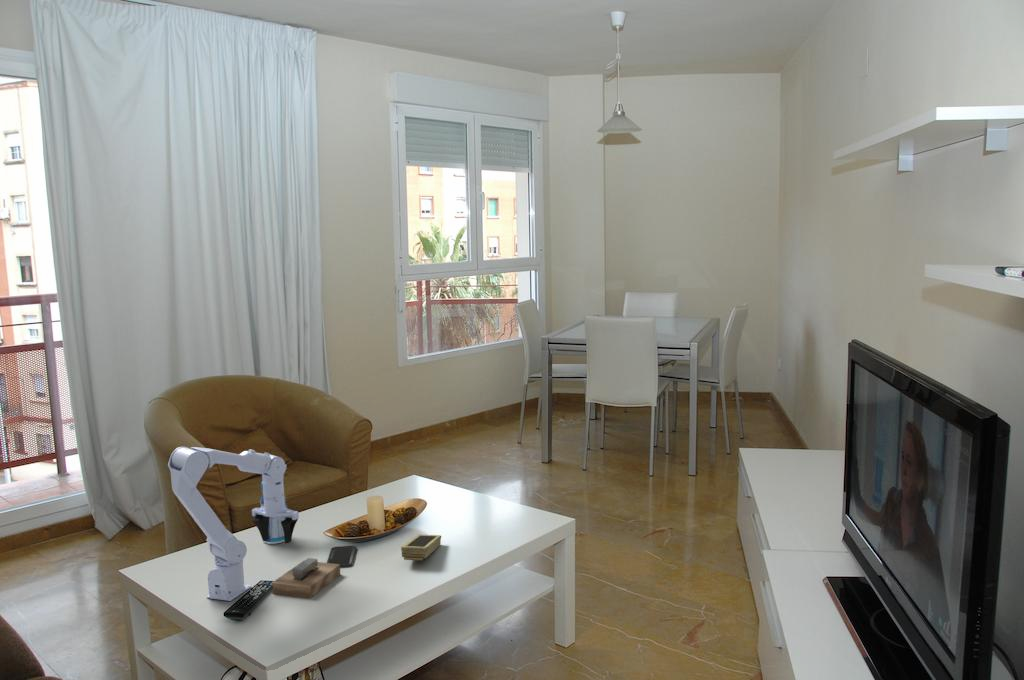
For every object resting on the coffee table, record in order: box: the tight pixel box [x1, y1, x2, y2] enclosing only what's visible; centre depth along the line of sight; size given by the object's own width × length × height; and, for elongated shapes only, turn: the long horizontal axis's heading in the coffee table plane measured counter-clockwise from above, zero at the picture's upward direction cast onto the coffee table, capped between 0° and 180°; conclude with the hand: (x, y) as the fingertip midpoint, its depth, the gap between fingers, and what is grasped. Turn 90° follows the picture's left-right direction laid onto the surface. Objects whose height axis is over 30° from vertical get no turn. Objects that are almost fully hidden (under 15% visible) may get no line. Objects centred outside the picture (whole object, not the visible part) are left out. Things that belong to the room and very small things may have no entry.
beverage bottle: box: [259, 480, 288, 545], centre depth 257 cm, size 8×8×20 cm
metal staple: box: [291, 557, 319, 580], centre depth 223 cm, size 8×3×6 cm, turn 162°
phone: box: [326, 545, 357, 569], centre depth 242 cm, size 8×1×15 cm
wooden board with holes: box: [271, 559, 341, 599], centre depth 224 cm, size 16×12×3 cm
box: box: [400, 534, 442, 561], centre depth 243 cm, size 8×22×5 cm, turn 173°
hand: (276, 541), depth 230 cm, fingers open, 7 cm apart
